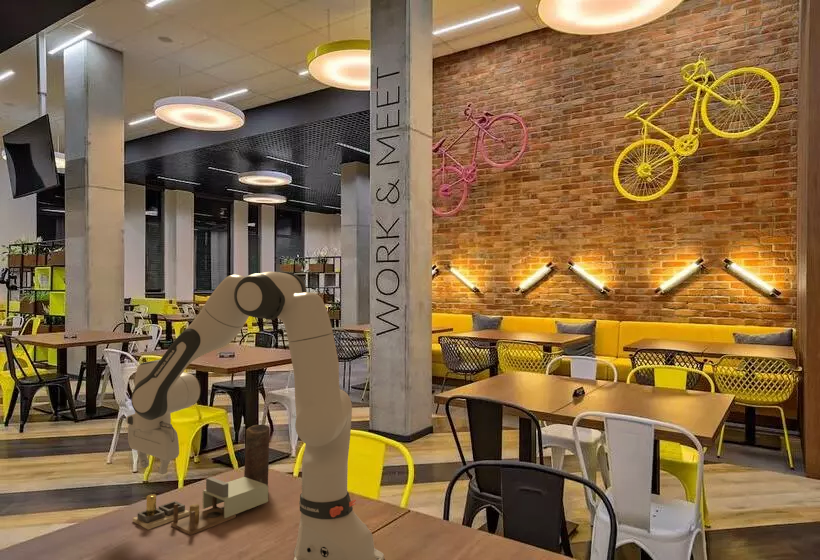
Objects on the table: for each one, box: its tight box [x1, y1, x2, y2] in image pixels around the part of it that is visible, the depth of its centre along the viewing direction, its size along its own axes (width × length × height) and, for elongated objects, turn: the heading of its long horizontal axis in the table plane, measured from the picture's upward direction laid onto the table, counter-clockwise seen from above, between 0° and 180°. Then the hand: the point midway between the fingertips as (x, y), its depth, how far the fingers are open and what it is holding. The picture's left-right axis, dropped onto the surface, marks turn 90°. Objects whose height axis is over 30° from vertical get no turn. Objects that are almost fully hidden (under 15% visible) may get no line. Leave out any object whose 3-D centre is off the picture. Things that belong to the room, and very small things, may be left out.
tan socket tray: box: [132, 500, 190, 530], centre depth 157 cm, size 8×12×2 cm, turn 143°
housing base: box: [170, 496, 237, 536], centre depth 156 cm, size 9×14×6 cm, turn 143°
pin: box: [145, 494, 157, 516], centre depth 155 cm, size 2×2×6 cm
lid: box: [202, 476, 269, 518], centre depth 164 cm, size 11×15×9 cm
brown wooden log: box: [243, 424, 270, 487], centre depth 178 cm, size 8×7×20 cm
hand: (153, 470), depth 155 cm, fingers open, 8 cm apart
